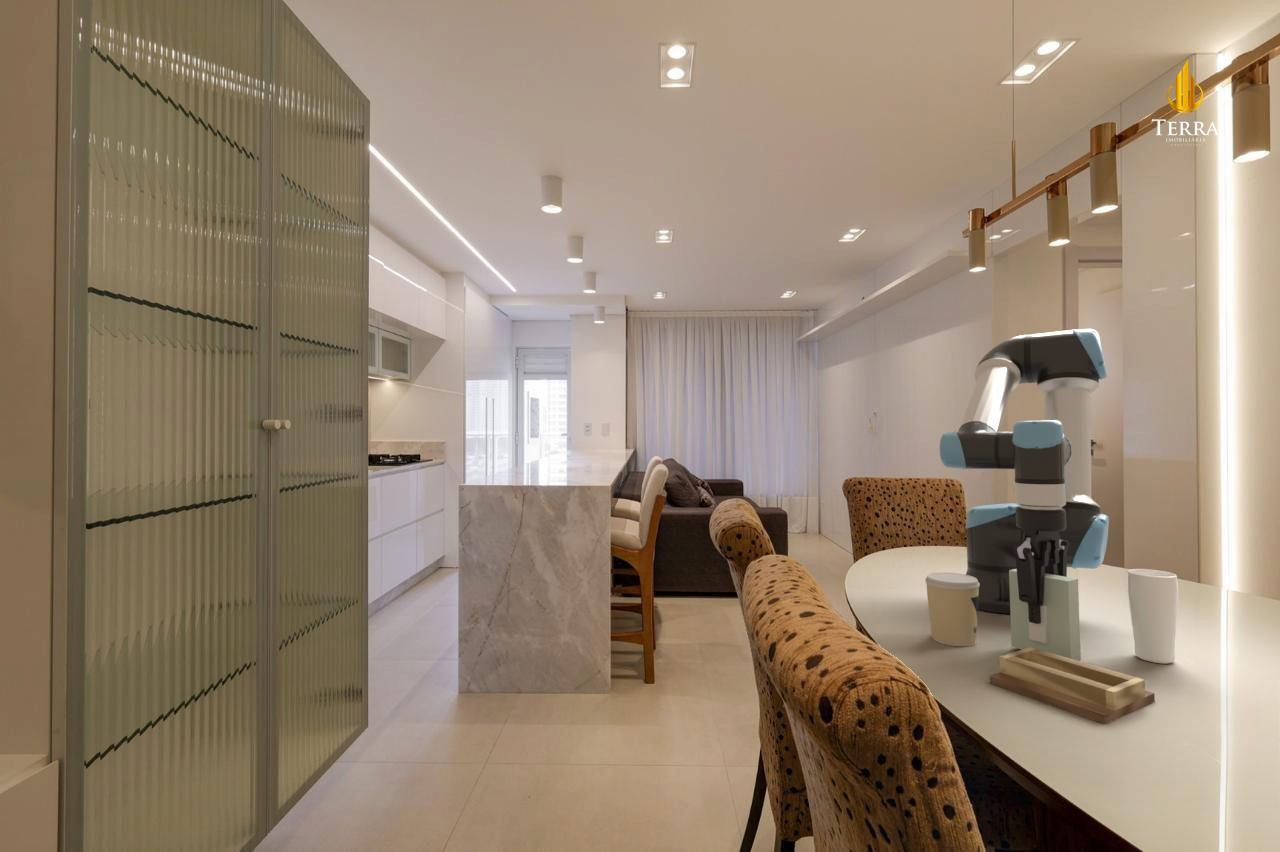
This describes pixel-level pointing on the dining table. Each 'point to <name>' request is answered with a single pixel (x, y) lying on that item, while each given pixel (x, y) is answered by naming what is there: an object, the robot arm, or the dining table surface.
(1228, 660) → the dining table surface
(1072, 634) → the door panel
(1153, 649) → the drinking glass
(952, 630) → the coffee cup
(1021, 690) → the track board
